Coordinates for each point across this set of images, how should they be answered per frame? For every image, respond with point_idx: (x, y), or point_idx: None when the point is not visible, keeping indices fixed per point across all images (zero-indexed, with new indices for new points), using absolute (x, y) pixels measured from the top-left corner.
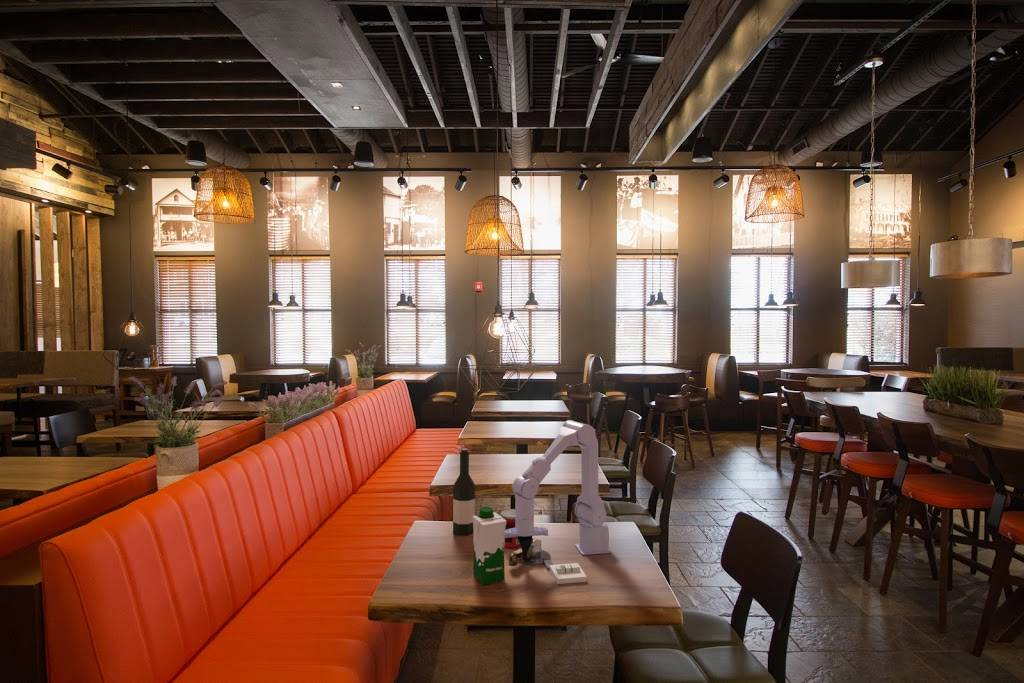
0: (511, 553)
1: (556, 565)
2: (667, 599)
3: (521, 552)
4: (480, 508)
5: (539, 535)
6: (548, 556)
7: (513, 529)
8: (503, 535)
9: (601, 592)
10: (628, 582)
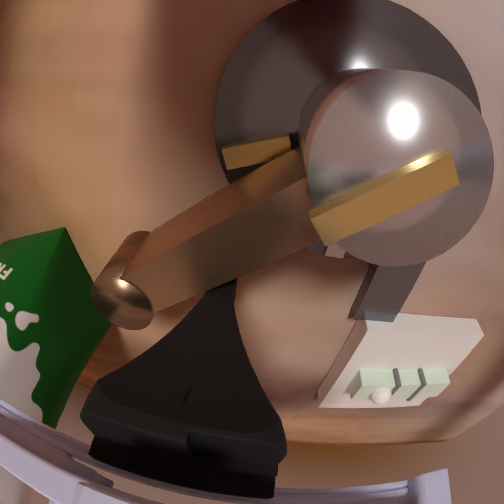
0: (108, 295)
1: (396, 339)
2: (467, 428)
3: (196, 293)
4: None
5: (348, 491)
6: None
7: (22, 465)
8: (30, 500)
9: (399, 421)
10: (485, 394)
